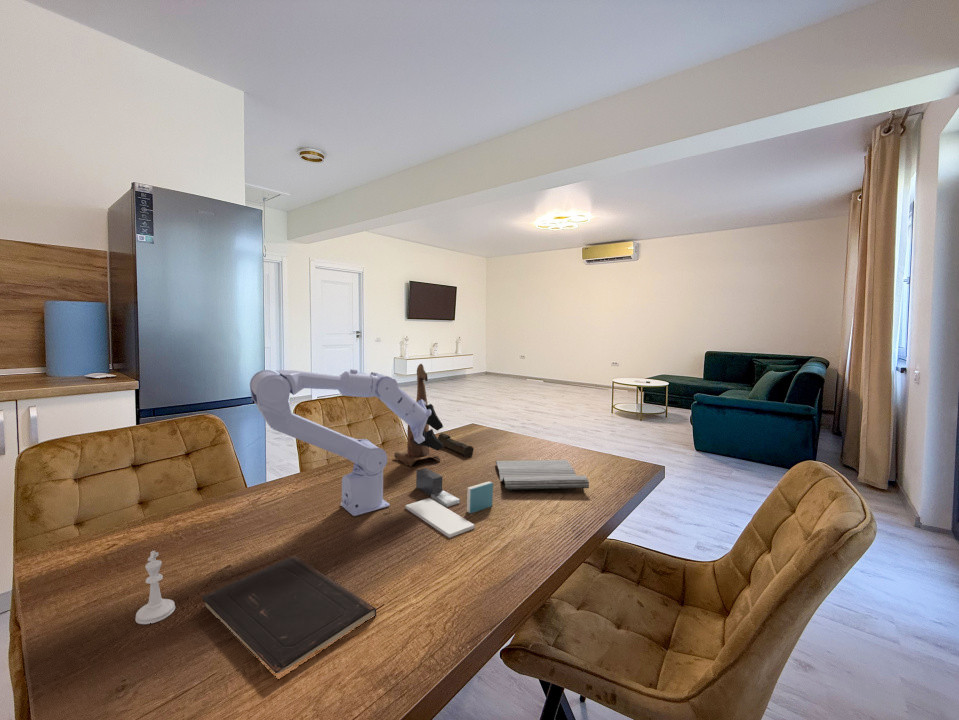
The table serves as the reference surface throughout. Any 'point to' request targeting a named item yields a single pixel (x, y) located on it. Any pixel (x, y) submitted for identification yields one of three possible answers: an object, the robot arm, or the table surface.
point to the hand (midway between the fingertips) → (440, 437)
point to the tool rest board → (440, 517)
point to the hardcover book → (287, 611)
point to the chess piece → (154, 596)
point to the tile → (479, 497)
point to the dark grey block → (434, 487)
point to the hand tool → (456, 445)
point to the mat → (539, 475)
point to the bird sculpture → (413, 450)
